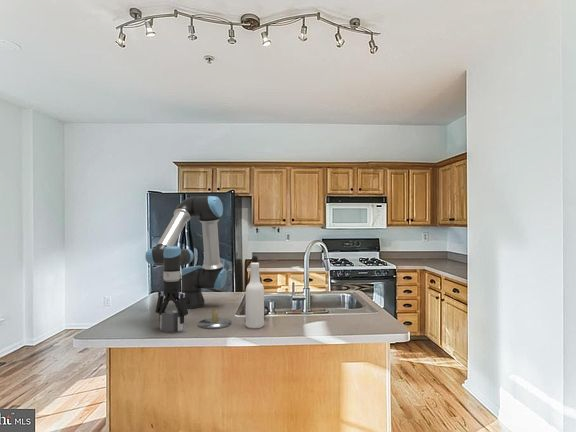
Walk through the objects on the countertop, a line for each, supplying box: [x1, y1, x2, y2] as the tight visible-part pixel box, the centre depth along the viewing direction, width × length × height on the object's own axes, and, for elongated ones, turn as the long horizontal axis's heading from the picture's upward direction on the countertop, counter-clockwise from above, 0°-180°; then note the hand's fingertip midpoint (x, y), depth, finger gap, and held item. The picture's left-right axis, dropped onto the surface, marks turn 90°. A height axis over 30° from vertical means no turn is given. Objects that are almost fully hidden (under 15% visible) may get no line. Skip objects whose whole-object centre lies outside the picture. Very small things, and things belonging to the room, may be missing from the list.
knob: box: [160, 309, 179, 334], centre depth 169 cm, size 6×6×9 cm
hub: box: [197, 308, 233, 330], centre depth 178 cm, size 16×16×7 cm
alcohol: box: [245, 262, 265, 330], centre depth 175 cm, size 9×9×30 cm
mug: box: [264, 300, 270, 320], centre depth 187 cm, size 9×12×9 cm
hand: (171, 329), depth 168 cm, fingers open, 9 cm apart
